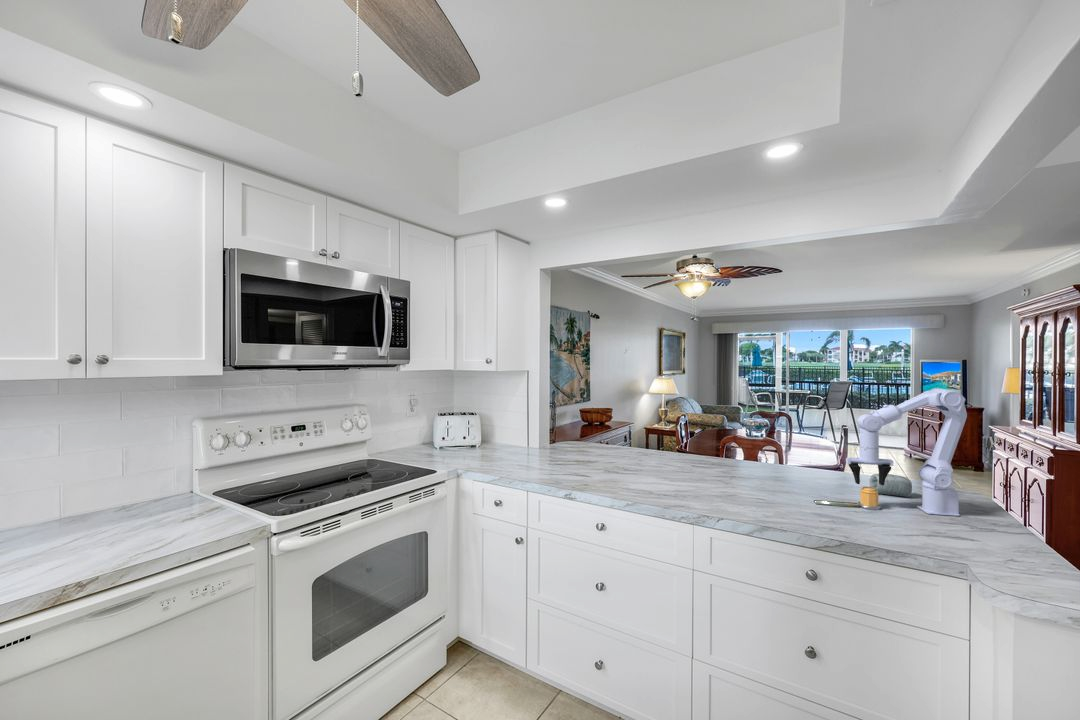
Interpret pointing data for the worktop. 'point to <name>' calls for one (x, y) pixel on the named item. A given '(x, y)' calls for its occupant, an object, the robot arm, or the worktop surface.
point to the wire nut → (869, 496)
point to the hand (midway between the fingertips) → (869, 484)
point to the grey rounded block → (892, 485)
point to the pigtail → (847, 504)
